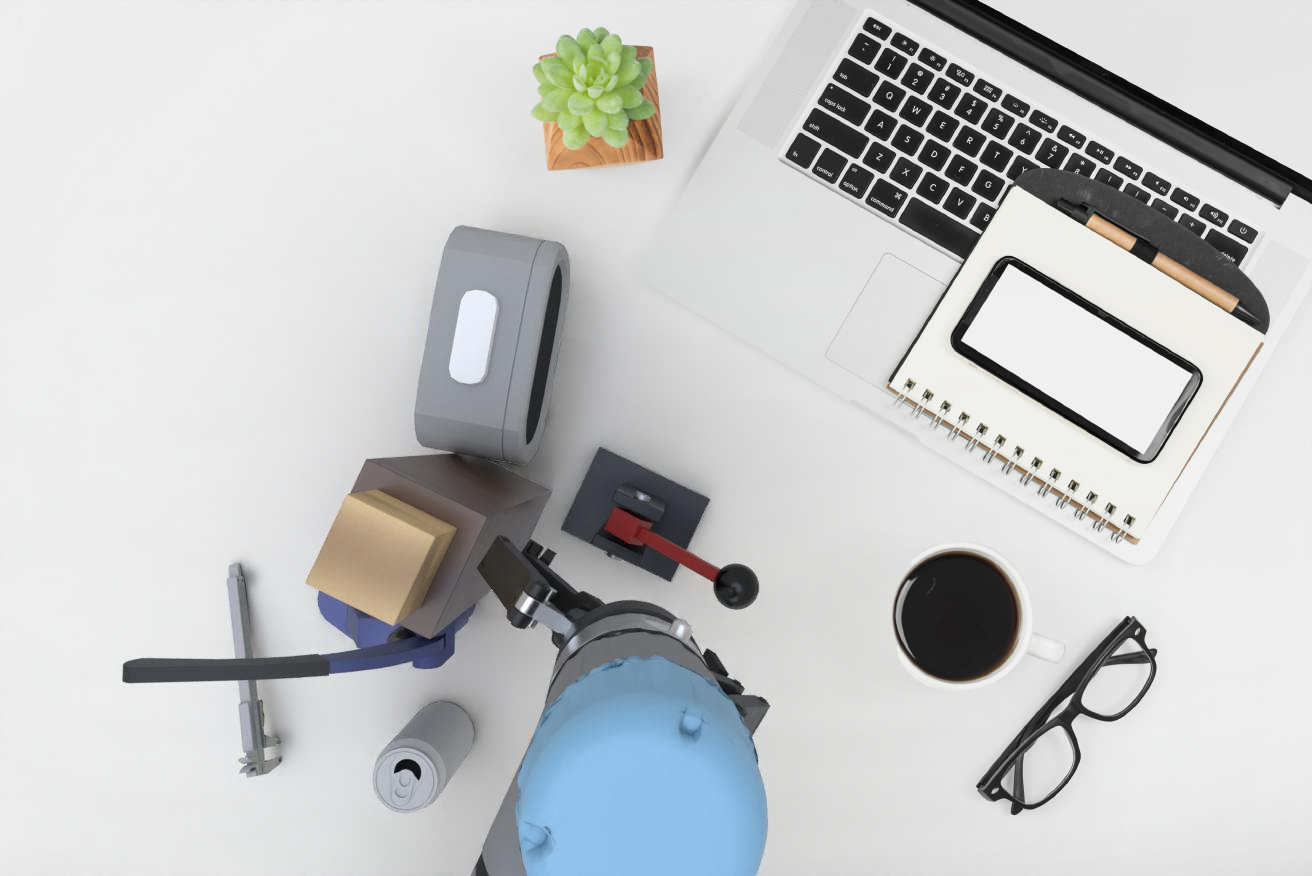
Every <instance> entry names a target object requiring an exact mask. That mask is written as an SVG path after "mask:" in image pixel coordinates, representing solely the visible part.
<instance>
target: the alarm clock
mask: <svg viewBox="0 0 1312 876" xmlns="http://www.w3.org/2000/svg"><path fill="white" fill-rule="evenodd" d="M570 277H571V263H570V256H569V252H568V250H567V248H566V246H565V245H564V244H563V243H562V242H559V241H554V240H546V239H544V238H538V237H531V236H525V235H520V234H514V233H509V232H503V231H497V230H492V229H485V228H481V227H474V226H470V225H463V224H460V225H457V226H455V227H454V228H453V230H452V231H451V232H450V233H449V235H448V237H447V240H446V242H445V245H444V247H443V250H442V255H441V259H440V263H439V268H438V273H437V278H436V282H435V289H434V294H433V297H432V298H433V299H432V304H431V310H430V314H429V315H430V316H429V321H428V327H427V332H426V336H425V337H426V338H425V342H424V347H423V348H424V349H423V354H422V359H421V365H420V370H419V371H420V372H419V376H418V382H417V390H416V397H415V403H414V404H415V405H414V412H413V418H414V419H413V421H414V433H415V437H416V440H417V442H418V443H419V445H420V446H421V447H423V448H427V449H432V450H437V451H443V452H449V453H458V454H464V455H469V456H475V457H480V458H486V459H488V460H490V461H498V462H501V463H502V462H503V463H507V464H508V463H509V464H513V465H518V466H525V465H526V464H529V463H530V462H531V461H532V460H533V459H534V458H535V456H536V453H537V451H538V448H539V446H540V443H541V439H542V436H543V433H544V429H545V425H546V424H545V423H546V418H547V414H548V411H549V404H550V399H551V393H552V389H553V383H554V377H555V371H556V366H557V362H558V361H557V360H558V355H559V349H560V344H561V339H562V333H563V326H564V323H565V315H566V310H567V305H568V297H569V290H570V280H571V279H570Z"/></svg>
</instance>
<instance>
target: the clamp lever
mask: <svg viewBox="0 0 1312 876" xmlns="http://www.w3.org/2000/svg"><path fill="white" fill-rule="evenodd" d="M652 524H653V523H652V522H650V521H648V520H646V519H645V518H643V517H641V516H639V515H637V514H636V513H634V512H632V511H630V510H628V509H624V508H620V507H617V506H615V507H614V509H613V511H612V513H611V515H610V517H609V520H608V522H607V524H606V526H605V528H604V530H606V531H608V532H609V533H611V534H613V535H615V536H616V537H618V538H620V539H622V540H623V541H625V542H627V543H629V544H634V545H639V546H642V545H643V543H645V544H646V545H648V546H650V547H652V548H653V549H655V550H657V551H659V552H660V553H662V554H664V555H666V556H668V557H669V558H671V559H673V560H675V561H676V562H678V563H680V564H679V565H682V566H683V567H685V568H687V569H689V570H690V571H692V572H693V573H696V574H698V575H700V576H701V577H703V578H705V579H707V580H708V581H710V582H712V584H713V585H712V588H713V589H712V590H713V593H714V597H715V598H716V600H717V601H718V602H719V603H720V604H721V605H722V606H723V607H724V608H726V609H728V610H734V611H738V610H744V609H746V608H748V607H750V606H751V605H753V604H754V603H755V601H756V599H757V598H758V596H759V593H760V582H759V578H758V575H757V574H756V573H755V571H754V570H753V569H752V568H750V566H747V565H745V564H743V563H735V562H734V563H729V564H726V565H724V566H722V567H721V568H720V567H718V566H716V565H715V564H712V563H710V562H709V561H707V560H706V559H703V558H702V557H700V556H698V555H696V554H695V553H693V552H690V551H689V550H687V549H686V550H685V549H683V548H682V547H680V546H678V545H676V544H674V543H673V542H671V541H669V540H667V539H665V538H664V537H662V536H660V535H658V534H656V533H655V532H653V531H651V530H650V528H651V526H652Z"/></svg>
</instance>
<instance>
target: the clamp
mask: <svg viewBox="0 0 1312 876" xmlns="http://www.w3.org/2000/svg"><path fill="white" fill-rule="evenodd" d="M316 599H317V606H318V610H319V611H320V614H321V616H322V617H323V618H324V620H325V621H326V622H328V623H329V624H330V625H332V626H333V627H334V628H336V629H337V630H338V631H340V632H341V633H343V634H344V635H345V636H346V637H348V638H349V639H351V640H352V641H353V642H354V644H355V646H356V648H357V649H351V650H344V651H339V652H332V653H324V654H319V653H310V654H301V655H289V656H287V655H286V656H270V657H253V658H240V659H236V658H178V657H177V658H175V657H172V658H171V657H170V658H169V657H168V658H167V657H140V658H134V659H130V660H127V661H124V662H123V663H122V678H121V679H122V682H123V683H124V684H155V683H156V684H157V683H159V684H161V683H193V682H194V683H197V682H200V683H201V682H231V681H232V682H233V681H234V682H235V681H237V682H238V680H256V681H262V680H264V681H265V680H282V679H283V680H284V679H301V678H314V677H315V678H316V677H329V676H330V675H334V674H343V673H344V674H345V673H355V672H356V673H357V672H363V671H369V670H370V671H371V670H378V669H385V668H390V667H395V666H401V665H404V664H408V663H411V662H412V668H415V669H419V670H432V669H438V668H440V667H442V666H444V664H445V663H446V662H448V660H450V658H452V657H453V656H454V655H455V646H456V634H457V633H458V632H460V630H461V629H463V628H464V627H465V626H466V625H467V624H468V623H469V620H470V617H471V616H472V614H473V613H474V610H475V607H476V603H474V604H473V605H472V606H471V607H470V608H468V609H467V610H466V611H465V612H463V613H462V614H461V615H460V616H458V617H457V618H456V619H455V620H453V621H452V622H451V623H450V624H449V625H447V626H446V627H445V628H444V629H442V630H441V631H440V632H439V633H437V634H436V635H435V636H434V637H433V638H431V639H428V638H426V637H424V636H422V635H420V634H418V633H416V632H413V631H411V630H409V629H407V628H405V627H403V626H401V625H399V624H396V625H394V626H392V625H390V624H388V623H386V622H383V621H381V620H379V619H377V618H375V617H373V616H371V615H369V614H367V613H365V612H363V611H361V610H359V609H357V608H355V607H352V606H350V605H348V604H346V603H344V602H342V601H340V600H338V599H336V598H334V597H332V596H330V595H328V594H326V593H324V592H321V591H319V590H318V593H317V597H316Z"/></svg>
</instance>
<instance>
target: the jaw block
mask: <svg viewBox="0 0 1312 876" xmlns="http://www.w3.org/2000/svg"><path fill="white" fill-rule="evenodd" d="M456 530H457V528H456V527H454V526H452V525H450V524H448V523H446V522H444V521H442V520H440V519H438V518H436V517H434V516H432V515H429V514H427V513H425V512H423V511H421V510H419V509H417V508H415V507H413V506H411V505H409V504H407V503H404V502H402V501H400V500H398V499H396V498H394V497H392V496H390V495H388V494H386V493H384V492H382V491H379V490H377V489H376V490H370V491H365V492H359V493H353V494H350V493H347V494H346V495H345V497H344V499H343V501H342V503H341V506H340V508H339V510H338V512H337V513H336V515H335V519H334V521H333V523H332V525H331V527H330V529H329V531H328V533H327V536H326V538H325V540H324V542H323V544H322V546H321V548H320V550H319V553H318V555H317V557H316V558H315V561H314V563H313V566H312V568H311V569H310V571H309V573H308V576H307V579H306V580H305V585H307V586H309V587H311V588H314V589H316V590H317V591H318V592H319V591H321V592H324V593H326V594H328V595H330V596H332V597H334V598H336V599H338V600H340V601H342V602H344V603H346V604H348V605H350V606H352V607H355V608H357V609H359V610H361V611H363V612H365V613H367V614H369V615H371V616H373V617H375V618H377V619H379V620H381V621H383V622H386V623H388V624H390V625H392V626H394V625H396V624H397V623H399V622H400V621H402V620H403V619H405V618H406V617H408V616H409V615H411V614H413V613H414V612H416V611H417V610H419V609H420V607H421V605H422V602H423V600H424V598H425V596H426V594H427V592H428V590H429V588H430V585H431V583H432V581H433V579H434V577H435V575H436V573H437V571H438V568H439V566H440V564H441V562H442V560H443V558H444V556H445V554H446V551H447V549H448V547H449V545H450V543H451V541H452V539H453V537H454V534H455V532H456Z"/></svg>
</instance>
